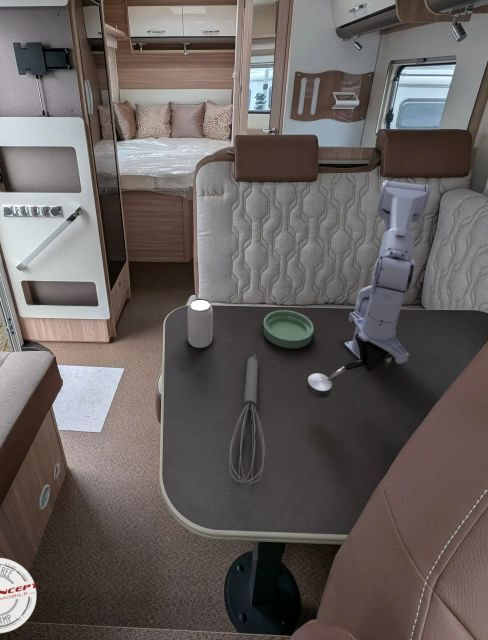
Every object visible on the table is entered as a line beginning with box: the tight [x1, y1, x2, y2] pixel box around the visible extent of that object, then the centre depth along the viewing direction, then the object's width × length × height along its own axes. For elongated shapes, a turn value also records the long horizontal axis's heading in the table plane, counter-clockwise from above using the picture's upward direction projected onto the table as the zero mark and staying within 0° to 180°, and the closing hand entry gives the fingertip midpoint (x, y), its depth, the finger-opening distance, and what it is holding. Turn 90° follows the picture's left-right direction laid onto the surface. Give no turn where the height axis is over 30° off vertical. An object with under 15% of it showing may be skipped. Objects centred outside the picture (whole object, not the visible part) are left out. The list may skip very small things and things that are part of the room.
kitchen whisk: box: [229, 353, 266, 486], centre depth 76 cm, size 6×34×6 cm, turn 172°
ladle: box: [306, 353, 394, 399], centre depth 76 cm, size 20×5×5 cm, turn 110°
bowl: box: [262, 309, 315, 349], centre depth 101 cm, size 14×14×3 cm
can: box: [187, 297, 213, 349], centre depth 95 cm, size 6×6×12 cm
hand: (367, 366), depth 78 cm, fingers closed on ladle
